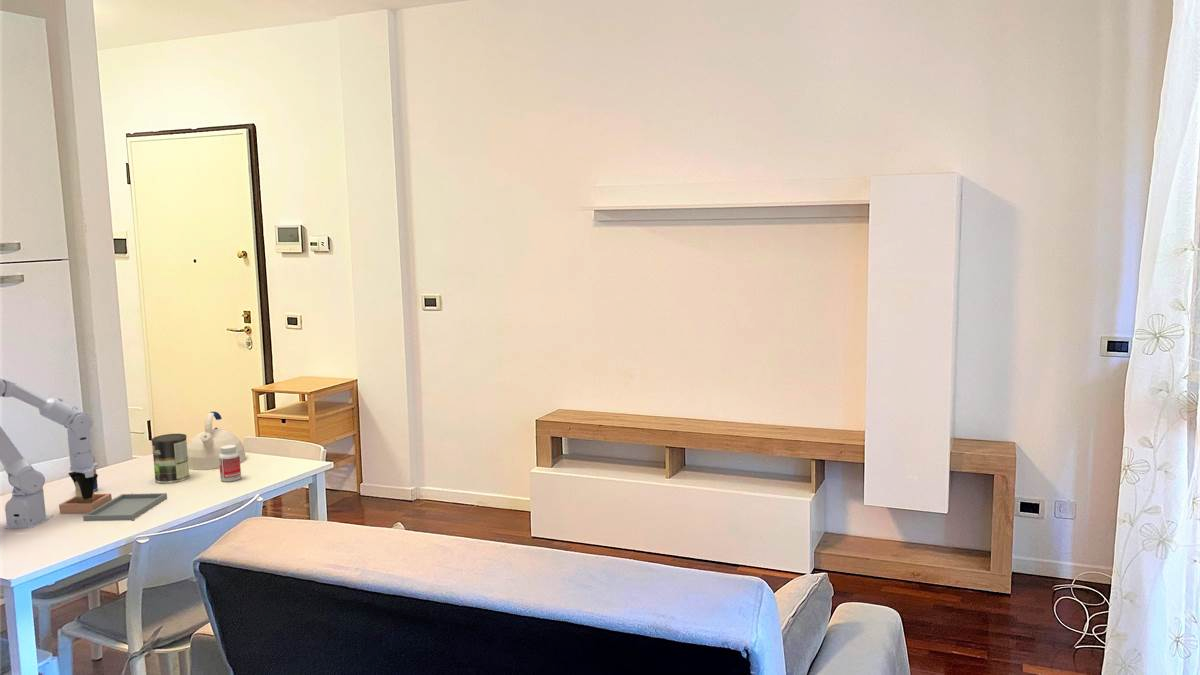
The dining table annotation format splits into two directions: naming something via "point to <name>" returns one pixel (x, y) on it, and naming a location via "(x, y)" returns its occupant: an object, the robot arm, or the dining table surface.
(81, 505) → the square terracotta tray
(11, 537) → the dining table surface
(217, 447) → the kettle
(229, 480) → the pill bottle
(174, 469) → the coffee can
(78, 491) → the birch peg
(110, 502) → the slate tray
